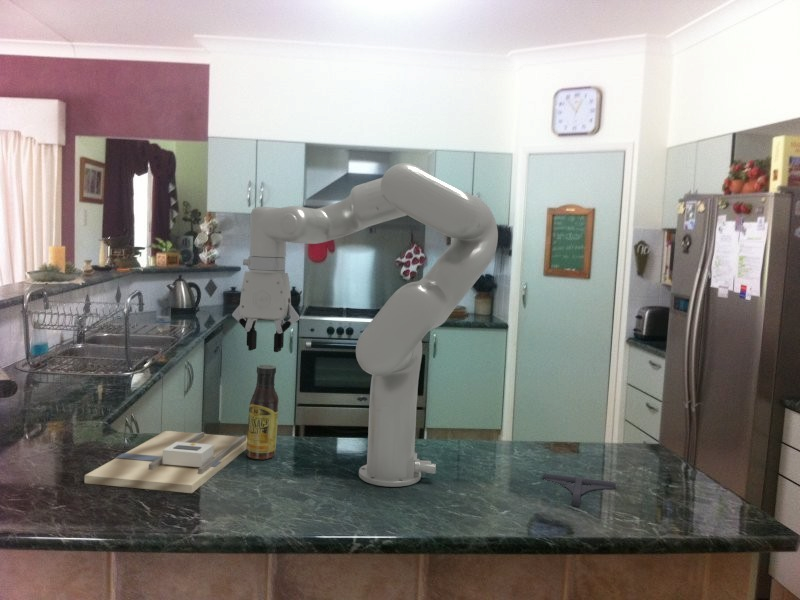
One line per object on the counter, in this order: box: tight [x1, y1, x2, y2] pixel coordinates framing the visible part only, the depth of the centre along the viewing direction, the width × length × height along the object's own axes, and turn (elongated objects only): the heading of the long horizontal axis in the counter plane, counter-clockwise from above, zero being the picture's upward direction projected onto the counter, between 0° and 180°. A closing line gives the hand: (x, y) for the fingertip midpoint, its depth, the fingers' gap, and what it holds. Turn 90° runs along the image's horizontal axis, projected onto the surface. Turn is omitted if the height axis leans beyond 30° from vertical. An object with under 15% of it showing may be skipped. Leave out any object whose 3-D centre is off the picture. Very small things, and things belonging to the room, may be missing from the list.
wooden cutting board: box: [83, 430, 247, 494], centre depth 140 cm, size 21×32×2 cm, turn 173°
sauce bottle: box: [246, 364, 279, 461], centre depth 145 cm, size 6×6×20 cm
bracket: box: [542, 472, 617, 508], centre depth 131 cm, size 14×15×3 cm
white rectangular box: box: [163, 442, 214, 467], centre depth 135 cm, size 6×8×3 cm
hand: (264, 349), depth 144 cm, fingers open, 4 cm apart
